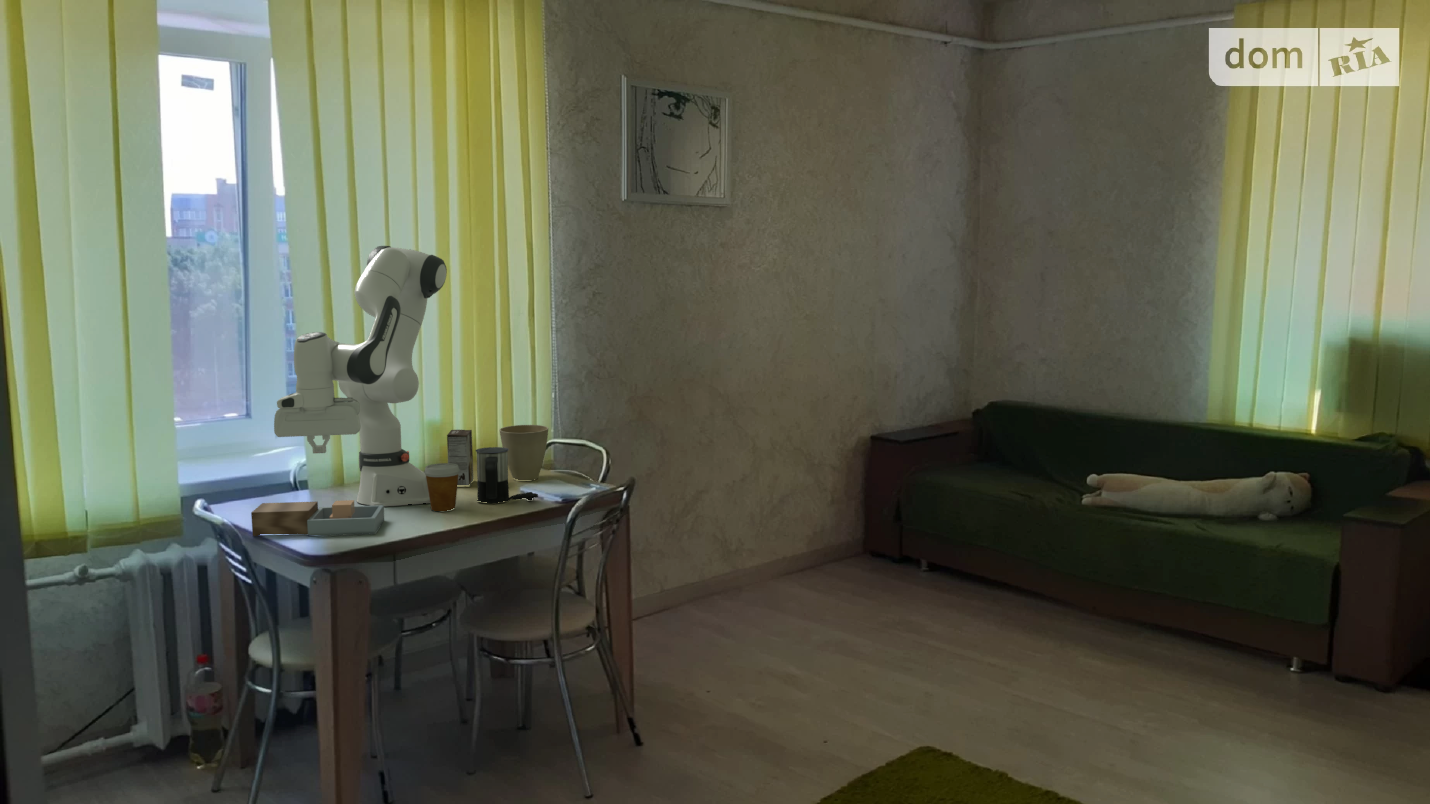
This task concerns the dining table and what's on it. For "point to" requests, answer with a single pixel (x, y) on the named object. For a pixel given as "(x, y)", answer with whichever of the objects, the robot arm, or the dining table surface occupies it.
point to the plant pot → (525, 449)
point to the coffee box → (461, 454)
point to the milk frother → (495, 476)
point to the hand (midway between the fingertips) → (319, 452)
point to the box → (346, 521)
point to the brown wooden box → (282, 518)
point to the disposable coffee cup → (442, 485)
